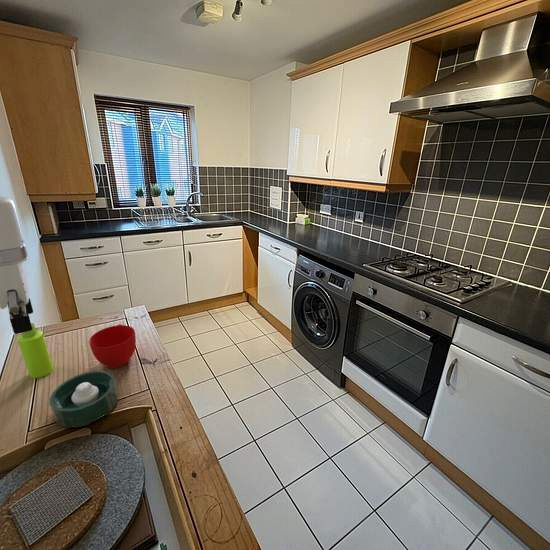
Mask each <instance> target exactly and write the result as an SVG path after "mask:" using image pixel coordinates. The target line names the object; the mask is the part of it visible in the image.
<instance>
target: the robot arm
mask: <svg viewBox="0 0 550 550" xmlns="http://www.w3.org/2000/svg"><path fill="white" fill-rule="evenodd" d="M28 260H29V255H28V250H27V247H26V243H25V239H24V236H23V232H22V227H21V224H20V220H19V216H18V212H17V208H16V205H15V203H14V201H13V200H12V199H11V198H9V197H7V196H0V309H1V310H5V308H7V309H8V315H9V321H10V325H11V328H12V331H13V334H14V335H17V334H21V333H23V332H27V331H31V330H32V325H31V323H32V322H31V319H30V318H31V317H30V315H31V314H33V313H34V308H33V304H32V301H31V298H30V287H29V280H28V277H27V272H26V268H25V265H24V262H25V261H28ZM29 317H30V318H29Z"/></svg>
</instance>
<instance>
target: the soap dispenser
mask: <svg viewBox="0 0 550 550" xmlns="http://www.w3.org/2000/svg"><path fill="white" fill-rule="evenodd" d="M29 318H31V317H30V316H29ZM31 325H32V330H31V331H27V332H23V333H20V336H18V337H17V338H16V339H17V343H18V347H19V348H20V351H21V354H22V357H23V360H24V362H25V364H26V365H25V367H26V369H27V371H28V373H29V374H28V375H29V377H30V378H32V379H38V378H42V377H45V376H47V375H49V374H51V373H52V372H53V370H54V365H53V361H52V358H51V355H50V352H49V349H48V346H47V342H46V339H45V336H44V333H43V331H41V330H37V329H36V325H35V323H33V322H31Z"/></svg>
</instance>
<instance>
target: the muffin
mask: <svg viewBox="0 0 550 550" xmlns="http://www.w3.org/2000/svg"><path fill="white" fill-rule="evenodd" d="M98 393H99V390H98V388H97V387H96V386H93V385H91V384H90V383H88V382H85V383H82V384H80V385H78V386H77V388H76V391H75V392H74V393H73V395H72V402H73V403H74V404H75V405H77V406H78V407H82V406H85V405H88V404H90V403H92V402H94V401H96V400H97V397H98Z"/></svg>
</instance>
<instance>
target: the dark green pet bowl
mask: <svg viewBox="0 0 550 550" xmlns="http://www.w3.org/2000/svg"><path fill="white" fill-rule="evenodd" d="M85 382H88V383H90V384H91V385H93V386H96V387H97V388H98V390H99V393H98V397H97V400H96V401H94V402H92V403H90V404H88V405H85V406H82V407H78V406H77V405H75V404H74V403H73V402H72V395H73V393H74V392H75V391H76V388H77V386H78V385H80V384H82V383H85ZM119 396H120V395H119V391H118V385H117V381H116V378H115V375H114V374H112V373H111V372H110V371H105V370H90V371H85V372H83V373H82V372H81V373H80V374H76V375H75V376H73V377H70V378H68V379H67V380H64V381H63V382H62V383H61V384H60V385H58V386H57V387H56V388H55V389H54V390H53V391H52V393H51V395H50V397H49V407H50V410H51V412H52V415H53V419H54V421H55V423H57V424H58V426H60V427H63V428H66V427H73V426H74V427H77V428H81V427H85V426H88V425H91V424H92V423H91V422H92V421H93V420H95V419H97V418H99V417H101V416H103V415H105V414H107V413H108V414H109V413H110V412H111V411H112V410H113V409H114V408H115V406H116V404H117V403H118V400H119ZM108 414H107V415H108ZM105 416H106V415H105ZM90 423H91V424H90Z"/></svg>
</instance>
